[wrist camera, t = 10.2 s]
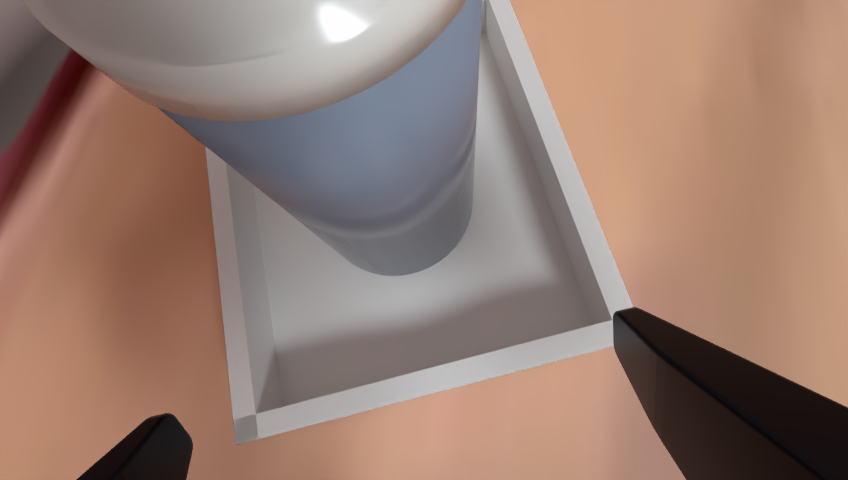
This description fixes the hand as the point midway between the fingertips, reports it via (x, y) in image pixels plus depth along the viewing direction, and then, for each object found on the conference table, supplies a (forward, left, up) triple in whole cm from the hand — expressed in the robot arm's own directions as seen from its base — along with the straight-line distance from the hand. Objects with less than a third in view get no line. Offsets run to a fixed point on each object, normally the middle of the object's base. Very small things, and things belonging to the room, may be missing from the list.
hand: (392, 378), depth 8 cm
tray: (+7, 0, -9) cm, 11 cm away
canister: (+7, 0, -8) cm, 11 cm away
